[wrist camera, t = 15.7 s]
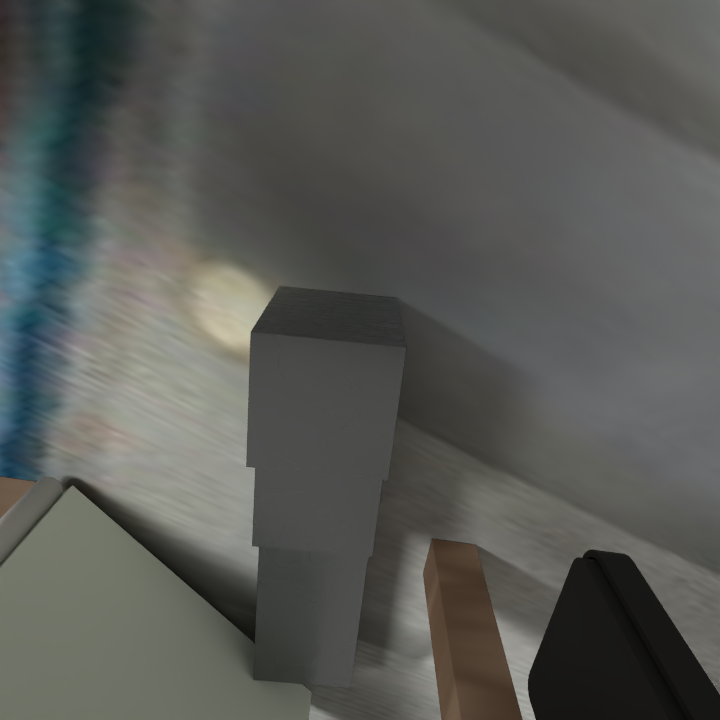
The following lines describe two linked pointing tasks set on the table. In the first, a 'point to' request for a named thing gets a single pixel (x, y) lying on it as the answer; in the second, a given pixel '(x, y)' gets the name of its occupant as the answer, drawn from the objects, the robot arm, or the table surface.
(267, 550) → the dark gray beam
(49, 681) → the door
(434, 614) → the wooden posts
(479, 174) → the table surface
